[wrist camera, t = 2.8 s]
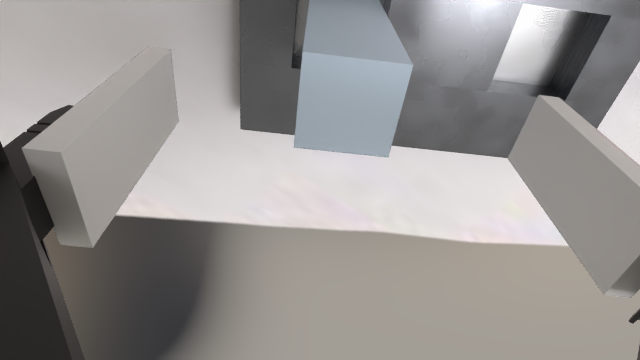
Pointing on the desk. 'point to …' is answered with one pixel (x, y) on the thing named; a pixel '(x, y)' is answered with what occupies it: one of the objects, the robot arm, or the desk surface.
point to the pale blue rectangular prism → (350, 79)
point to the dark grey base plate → (458, 65)
